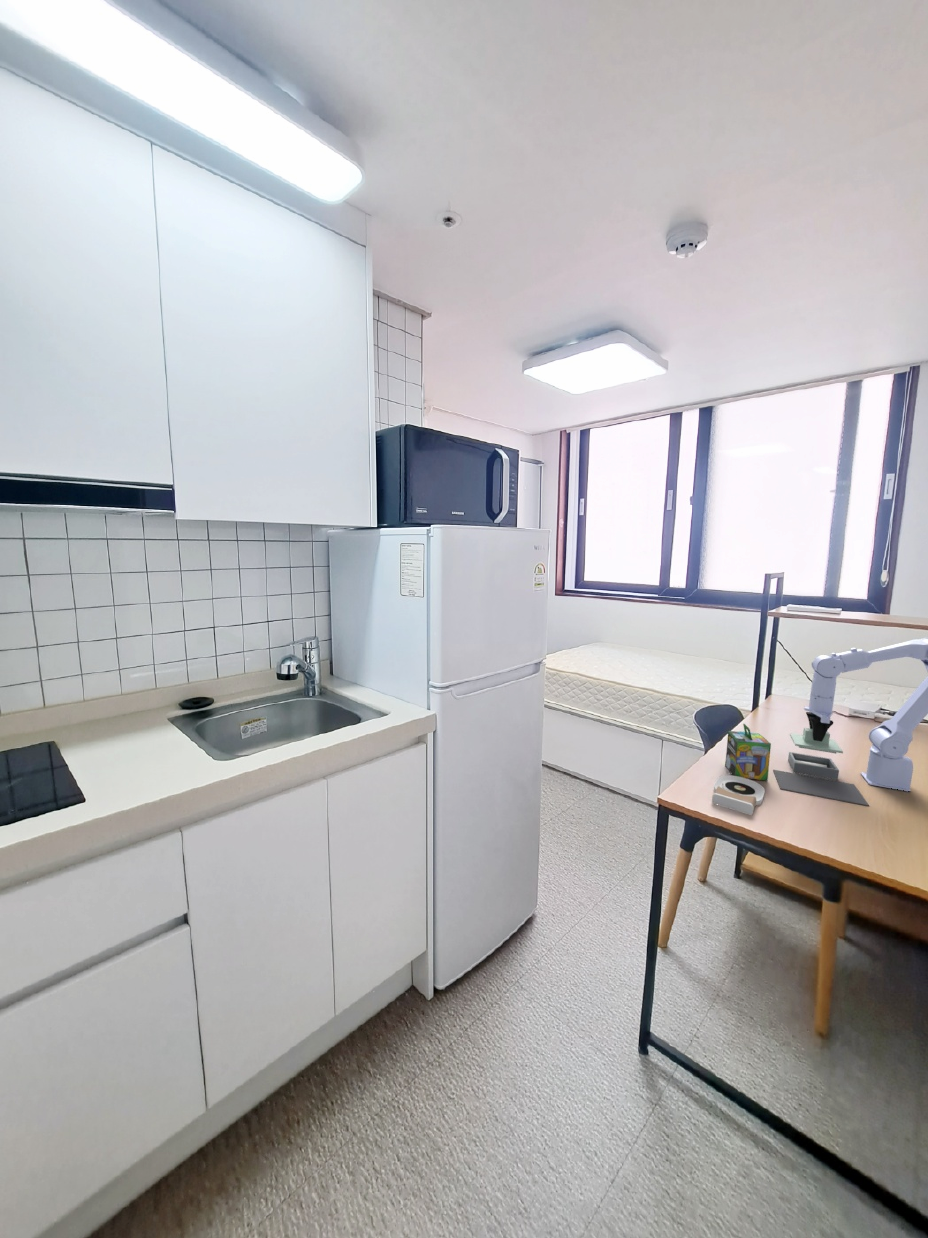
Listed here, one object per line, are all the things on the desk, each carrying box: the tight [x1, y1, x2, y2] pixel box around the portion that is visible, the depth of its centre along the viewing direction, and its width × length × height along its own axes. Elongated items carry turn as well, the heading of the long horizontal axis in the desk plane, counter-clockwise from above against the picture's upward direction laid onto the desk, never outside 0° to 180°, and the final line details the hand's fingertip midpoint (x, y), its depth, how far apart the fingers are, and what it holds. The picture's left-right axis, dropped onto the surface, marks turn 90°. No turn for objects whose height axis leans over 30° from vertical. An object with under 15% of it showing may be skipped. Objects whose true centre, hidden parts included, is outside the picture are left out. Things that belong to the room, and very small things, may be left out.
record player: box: [711, 774, 765, 816], centre depth 133 cm, size 12×3×20 cm
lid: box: [789, 727, 844, 754], centre depth 147 cm, size 12×10×5 cm
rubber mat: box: [772, 769, 870, 807], centre depth 138 cm, size 20×13×1 cm, turn 65°
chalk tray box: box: [787, 751, 840, 781], centre depth 148 cm, size 11×9×4 cm
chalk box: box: [724, 723, 772, 781], centre depth 145 cm, size 9×9×15 cm
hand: (816, 738), depth 147 cm, fingers closed on lid, 3 cm apart
